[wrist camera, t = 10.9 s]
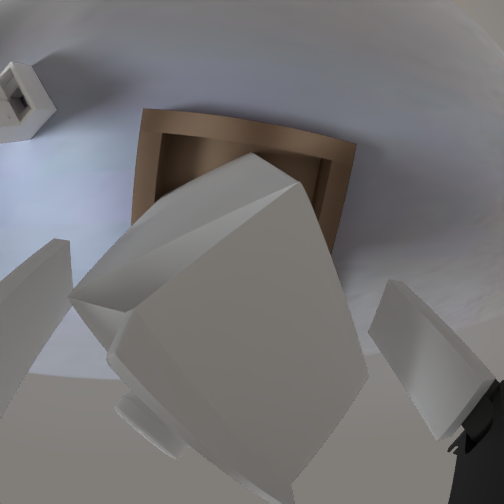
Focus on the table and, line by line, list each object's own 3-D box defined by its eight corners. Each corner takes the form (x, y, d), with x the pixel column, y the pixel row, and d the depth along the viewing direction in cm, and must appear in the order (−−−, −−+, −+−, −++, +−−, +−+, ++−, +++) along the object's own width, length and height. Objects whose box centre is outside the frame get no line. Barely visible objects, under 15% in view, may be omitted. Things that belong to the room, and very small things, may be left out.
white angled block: (37, 183, 18) (-53, 153, 10) (26, 106, 20) (-38, 72, 11) (67, 151, 18) (-26, 107, 9) (51, 79, 19) (-12, 37, 11)
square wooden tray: (140, 285, 24) (130, 304, 22) (154, 112, 20) (143, 108, 17) (301, 304, 26) (310, 324, 23) (340, 142, 21) (356, 143, 18)
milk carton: (252, 151, 21) (387, 235, 3) (290, 237, 23) (415, 467, 6) (163, 194, 21) (-8, 394, 4) (207, 274, 24) (186, 529, 6)
